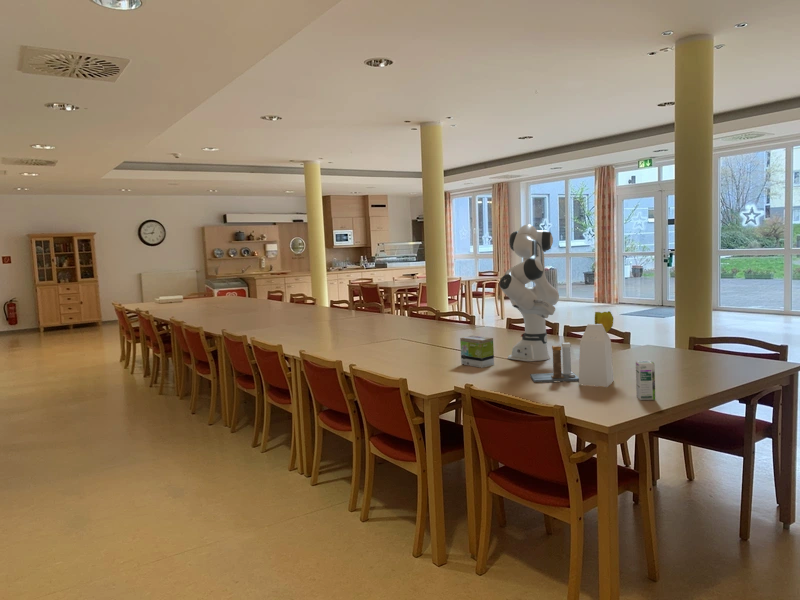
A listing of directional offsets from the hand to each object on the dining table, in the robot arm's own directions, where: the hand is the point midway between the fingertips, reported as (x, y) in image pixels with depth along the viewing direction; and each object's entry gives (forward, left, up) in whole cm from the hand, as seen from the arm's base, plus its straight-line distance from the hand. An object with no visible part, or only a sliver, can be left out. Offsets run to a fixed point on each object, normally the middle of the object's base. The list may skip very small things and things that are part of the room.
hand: (545, 316), depth 272 cm
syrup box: (+50, -22, -28) cm, 61 cm away
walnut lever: (+7, -6, -27) cm, 28 cm away
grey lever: (+9, +2, -27) cm, 28 cm away
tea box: (-43, +10, -28) cm, 53 cm away
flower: (+24, +10, -28) cm, 38 cm away
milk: (+25, -5, -28) cm, 38 cm away
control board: (+5, -4, -28) cm, 29 cm away
